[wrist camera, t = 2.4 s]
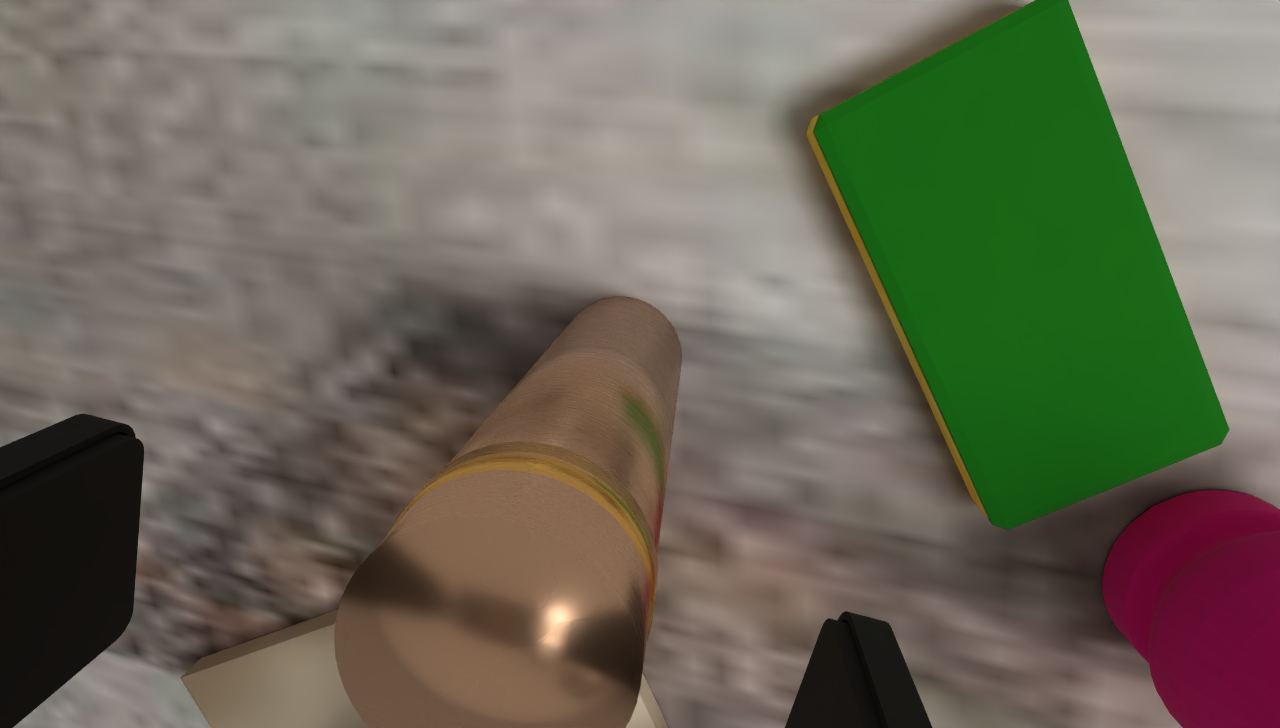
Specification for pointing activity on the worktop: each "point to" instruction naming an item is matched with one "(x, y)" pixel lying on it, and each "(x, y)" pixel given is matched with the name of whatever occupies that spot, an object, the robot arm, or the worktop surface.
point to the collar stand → (302, 683)
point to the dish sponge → (1021, 266)
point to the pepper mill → (1203, 605)
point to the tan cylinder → (528, 548)
